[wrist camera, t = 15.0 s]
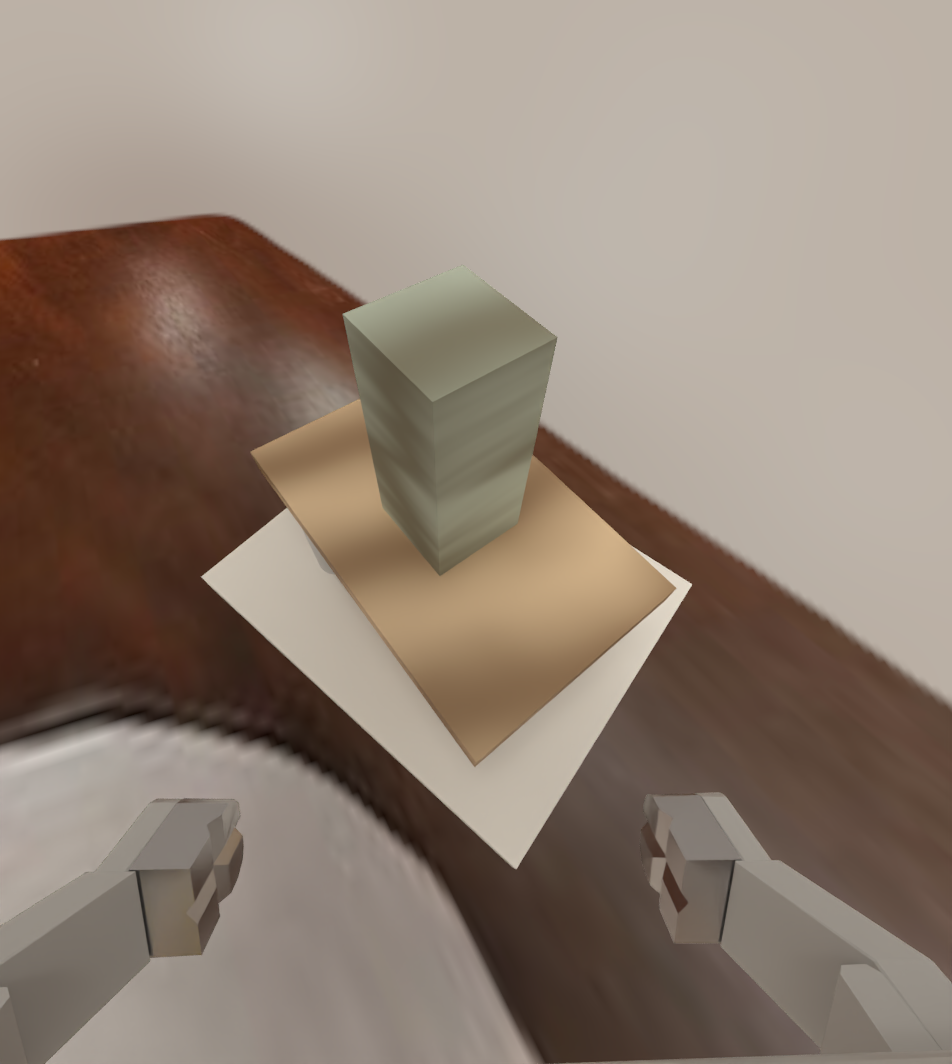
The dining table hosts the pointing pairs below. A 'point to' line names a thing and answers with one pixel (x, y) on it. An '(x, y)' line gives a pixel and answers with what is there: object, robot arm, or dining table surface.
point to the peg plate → (399, 707)
